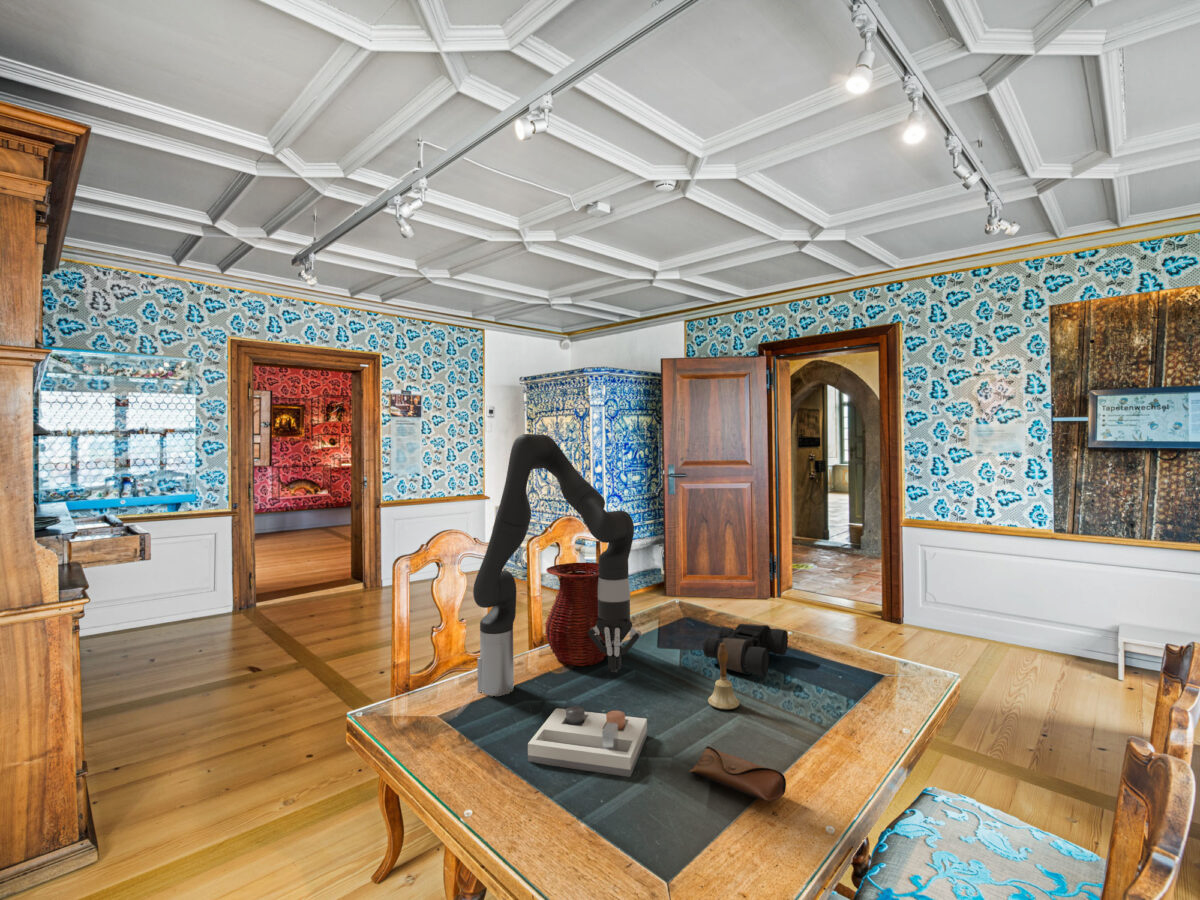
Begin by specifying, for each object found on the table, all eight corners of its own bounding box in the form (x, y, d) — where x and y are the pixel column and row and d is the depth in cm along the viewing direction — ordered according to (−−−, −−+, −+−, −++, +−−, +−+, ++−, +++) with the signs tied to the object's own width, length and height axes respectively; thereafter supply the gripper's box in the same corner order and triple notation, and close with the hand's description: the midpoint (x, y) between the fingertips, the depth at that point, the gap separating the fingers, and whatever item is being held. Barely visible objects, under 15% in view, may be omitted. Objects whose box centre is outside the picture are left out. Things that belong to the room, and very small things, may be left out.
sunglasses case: (685, 770, 117) (695, 737, 120) (698, 781, 121) (707, 748, 125) (770, 802, 106) (778, 765, 109) (781, 813, 110) (789, 776, 113)
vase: (575, 643, 202) (574, 559, 203) (630, 656, 189) (629, 566, 189) (530, 663, 183) (529, 570, 184) (588, 679, 170) (587, 579, 170)
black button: (563, 724, 134) (563, 713, 134) (569, 715, 138) (569, 705, 138) (581, 726, 133) (581, 715, 133) (586, 717, 137) (586, 707, 137)
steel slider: (602, 756, 122) (602, 730, 122) (607, 747, 126) (607, 722, 126) (613, 758, 122) (613, 732, 122) (617, 749, 125) (617, 723, 125)
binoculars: (762, 683, 165) (761, 649, 166) (696, 669, 177) (696, 637, 177) (788, 654, 189) (788, 624, 190) (729, 643, 201) (729, 615, 201)
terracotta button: (604, 729, 131) (604, 717, 131) (609, 720, 135) (609, 709, 136) (622, 731, 130) (622, 720, 130) (627, 722, 134) (627, 711, 134)
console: (527, 762, 124) (527, 743, 124) (556, 724, 142) (556, 708, 142) (630, 777, 118) (630, 757, 118) (647, 735, 135) (646, 718, 135)
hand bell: (740, 710, 148) (739, 649, 148) (707, 708, 150) (706, 647, 150) (738, 697, 156) (738, 639, 156) (708, 695, 158) (707, 637, 158)
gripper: (582, 598, 131) (582, 674, 131) (638, 602, 128) (639, 679, 127) (591, 591, 138) (592, 662, 138) (644, 594, 135) (645, 667, 135)
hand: (614, 670), depth 133 cm, fingers closed
